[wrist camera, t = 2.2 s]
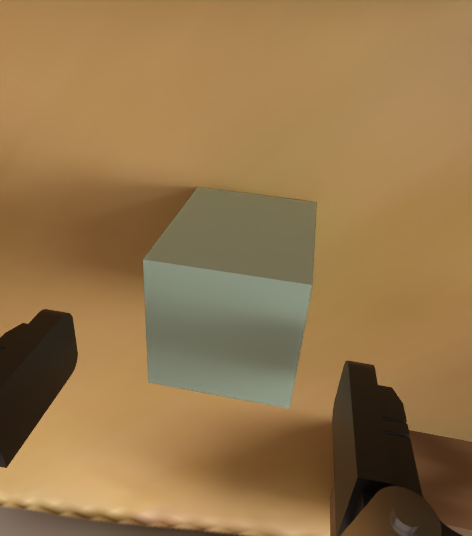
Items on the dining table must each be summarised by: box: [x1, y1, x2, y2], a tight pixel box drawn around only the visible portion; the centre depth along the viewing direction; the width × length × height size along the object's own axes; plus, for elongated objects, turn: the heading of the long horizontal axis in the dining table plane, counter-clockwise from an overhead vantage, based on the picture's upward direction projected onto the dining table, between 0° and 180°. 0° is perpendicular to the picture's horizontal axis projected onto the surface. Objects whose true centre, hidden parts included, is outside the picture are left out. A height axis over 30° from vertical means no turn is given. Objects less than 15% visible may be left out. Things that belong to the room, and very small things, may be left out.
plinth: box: [330, 430, 472, 536], centre depth 23 cm, size 7×7×5 cm
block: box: [143, 187, 317, 409], centre depth 17 cm, size 5×5×6 cm
